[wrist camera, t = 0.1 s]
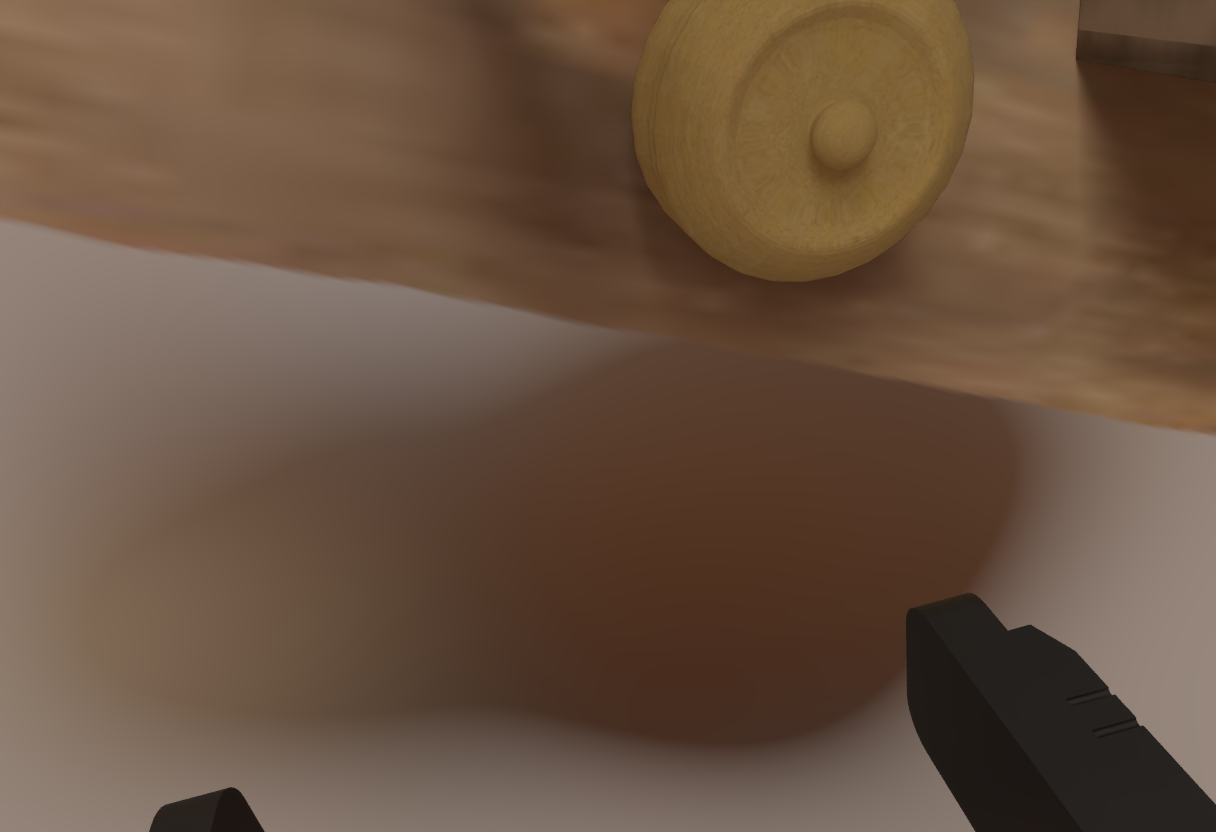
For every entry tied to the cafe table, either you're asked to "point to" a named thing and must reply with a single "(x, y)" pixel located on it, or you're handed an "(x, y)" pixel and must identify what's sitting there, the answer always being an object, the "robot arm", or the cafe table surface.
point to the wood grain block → (1150, 36)
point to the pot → (801, 126)
